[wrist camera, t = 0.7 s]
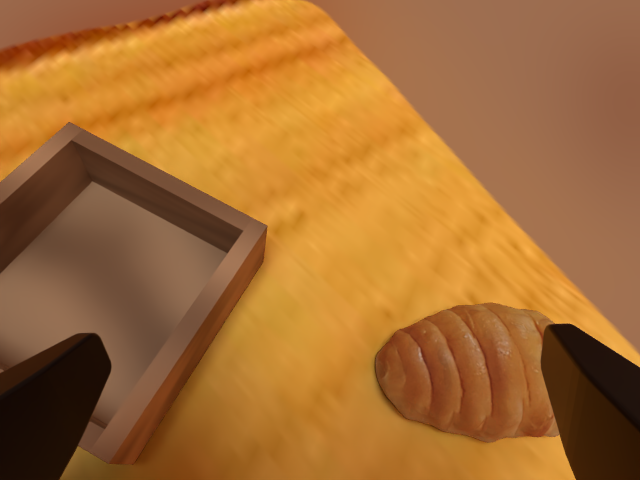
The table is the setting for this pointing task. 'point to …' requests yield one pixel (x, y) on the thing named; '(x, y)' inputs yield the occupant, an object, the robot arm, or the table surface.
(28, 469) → the robot arm
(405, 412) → the pastry
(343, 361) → the table surface
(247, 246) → the big crate
